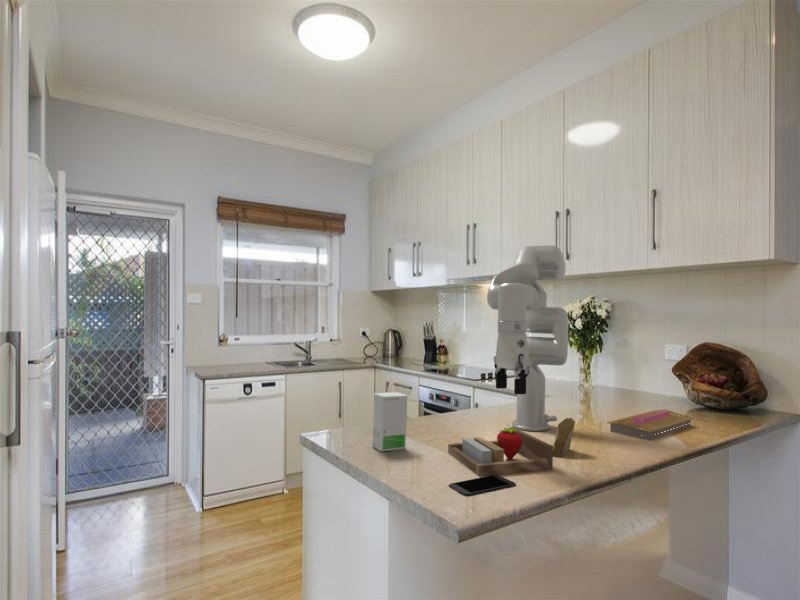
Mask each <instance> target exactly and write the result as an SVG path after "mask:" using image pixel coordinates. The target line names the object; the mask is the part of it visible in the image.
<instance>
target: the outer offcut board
mask: <svg viewBox="0 0 800 600" xmlns="http://www.w3.org/2000/svg"><path fill="white" fill-rule="evenodd" d="M462 443H463V444H462V452H463V453H465V454H466V455H468V456H469V457H470V458H472V459H473V460H475V461H476V462H477V463H479V464H481V463H491V455H492V451H491V450H490V449H488V448H486V447H485V446H483V445H481V444H480V443H478V442H477V441H475V440H474V438H471V437H467V438H462Z"/></svg>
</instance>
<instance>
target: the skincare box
mask: <svg viewBox="0 0 800 600" xmlns="http://www.w3.org/2000/svg"><path fill="white" fill-rule="evenodd" d="M407 411H408V395H407V394H404V393H400V392H397V391H396V392H374V393H373V420H372V421H373V422H372V425H373V427H372V447H373V448H375V449H376V450H377V451H379V452H380V453H381V452H388V451H389V452H390V451H398V450H406V448H407V446H406V444H407V443H406V441H407V416H408V415H407Z"/></svg>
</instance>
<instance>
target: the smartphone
mask: <svg viewBox="0 0 800 600" xmlns="http://www.w3.org/2000/svg"><path fill="white" fill-rule="evenodd" d="M516 486H517V484H516V482H514V481H512V480H510V479H508V478H506V477H503V476H501V475H500V474H497V475H486V476H480V477H478V478H477V477H476V478H471V479H467V480H462V481H456V482H451V483H449V484H448V488H450V489H452V490H453V491H455V492H457V493H459V494H460V495H461V496H464V497H472V496H476V495H482V494H486V493H491V492H495V491H500V490H503V489H508V488H509V489H510V488H513V487H516Z"/></svg>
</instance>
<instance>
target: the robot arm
mask: <svg viewBox="0 0 800 600" xmlns="http://www.w3.org/2000/svg"><path fill="white" fill-rule="evenodd" d="M565 274H566V261H565V258H564V255H563V252H562V250H561V249H560V248H559V247H558V246H556V245H550V244H549V245H548V244H547V245H527V246H523V247H522V248H520V249H519V251H517V254H516V256H515V259H514V261H513V265H512V266H510V267H508V268H507V269H504V270H503V271H500V272H499V273H497V274H495V276H494V277H493V278H492V279H491V282H490V284H489V286H488V289H487V293H486V298H487V299H486V302H487V304H488V306H489V308H490V309H492V310H494V311H497V338H496V339H497V340H496V349H495V351H496V352H495V353H496V354H495V355H494V357H493V363H494V365H493V367H494V369H495V371H494V373H495V389H507V387H508V374H507V372H508V371H511V372H513V373H514V375H515V378H514V379H513V380H514V383H513V385H514V395H516V419H515V420H512V422H511V426H512V428H513V427H514V428H516V429H518V430H520V431H527V432H544V431H549V429H550V424H549V422H556V421H558V418H557V416H556V415H549V414H546V375H545V374H544V372H543V371H542V369H541V368H540V367H539V365H540V366H541V365H543V366H544V365H545V366H557V367H559V366H563V365H565V364H566V363H567V360H568V353H569V352H568V351H569V350H568V349H569V316H568V312H567V311H566V310H565V309H564V308H562V307H557V306H547V299H548V298H547V297H548V295H547V292H546V290H545V289H544V287H543V286H542V285H541V284H540V283H539V281H560V280H562V279H563V278H564V276H565ZM527 333H528V334H542V335H553V336H554V337H547V336H546V337H545V336H544V337H543V336H527Z"/></svg>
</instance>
